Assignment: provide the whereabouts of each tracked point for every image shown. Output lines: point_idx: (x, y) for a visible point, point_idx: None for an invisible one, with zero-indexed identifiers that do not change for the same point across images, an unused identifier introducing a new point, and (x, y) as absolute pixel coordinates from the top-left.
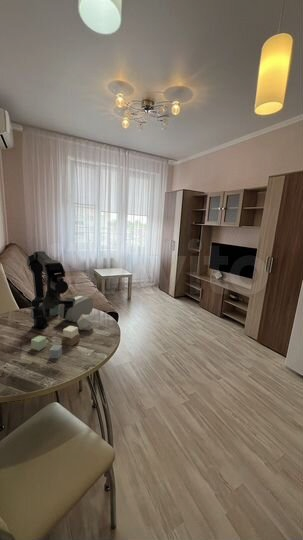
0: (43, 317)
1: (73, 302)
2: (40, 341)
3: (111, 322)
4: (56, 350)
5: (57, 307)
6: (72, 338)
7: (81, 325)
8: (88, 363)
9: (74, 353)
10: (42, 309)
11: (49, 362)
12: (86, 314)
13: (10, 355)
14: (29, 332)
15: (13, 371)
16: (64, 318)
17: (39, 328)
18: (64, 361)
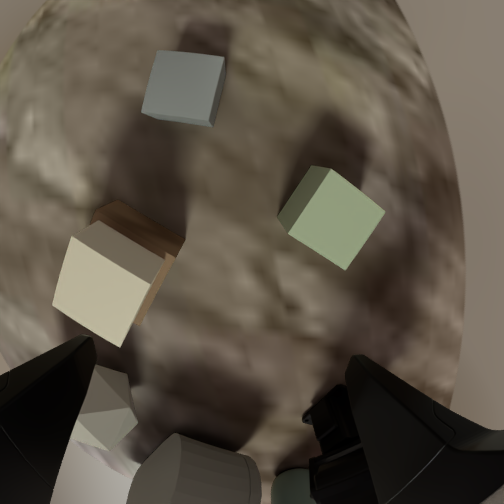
0: (372, 365)
1: None
2: (319, 183)
3: None
4: (171, 51)
5: (279, 501)
6: (92, 219)
7: (98, 379)
8: (35, 47)
9: (90, 118)
10: (440, 459)
11: (217, 34)
12: (144, 466)
13: (434, 148)
14: (383, 361)
15: (374, 10)
16: (73, 338)
17: (343, 391)
18: (135, 43)
